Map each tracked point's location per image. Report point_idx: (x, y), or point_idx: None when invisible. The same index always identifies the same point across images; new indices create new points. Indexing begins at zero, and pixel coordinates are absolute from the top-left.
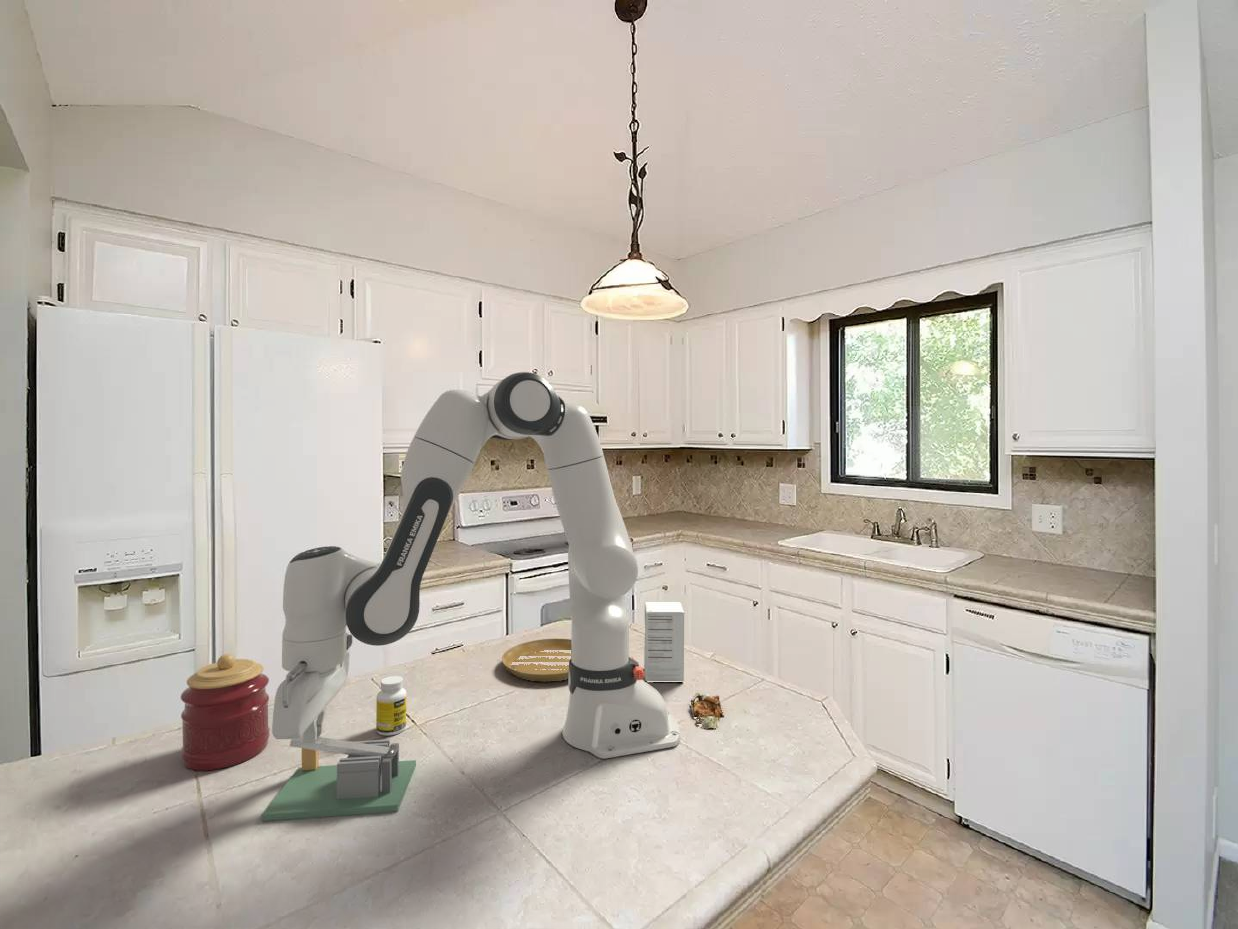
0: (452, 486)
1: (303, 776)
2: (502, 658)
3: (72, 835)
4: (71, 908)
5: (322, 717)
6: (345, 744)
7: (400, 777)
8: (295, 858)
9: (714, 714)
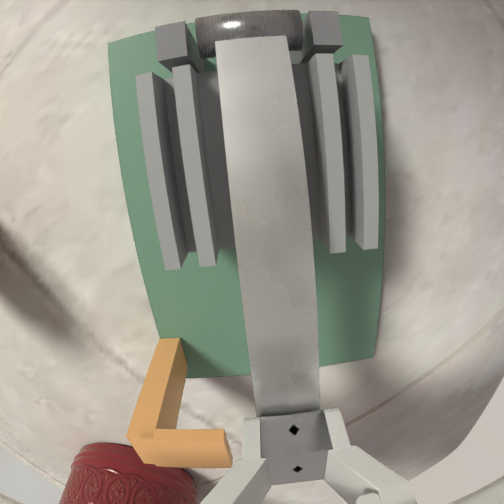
0: None
1: (214, 352)
2: None
3: (336, 499)
4: (467, 424)
5: (247, 487)
6: (279, 272)
7: None
8: (488, 217)
9: None
